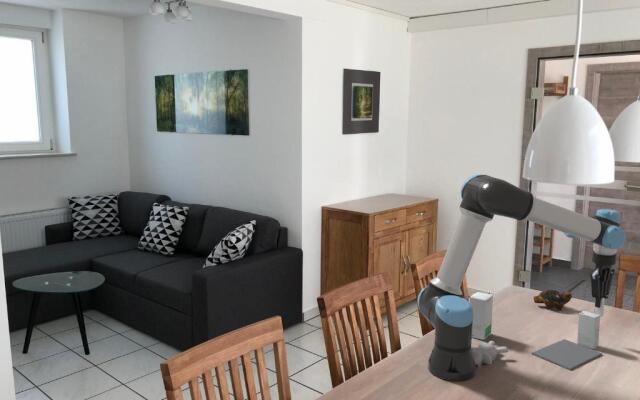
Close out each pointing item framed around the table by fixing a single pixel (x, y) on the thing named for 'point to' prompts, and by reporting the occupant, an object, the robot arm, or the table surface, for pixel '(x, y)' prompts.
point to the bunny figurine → (486, 353)
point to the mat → (567, 354)
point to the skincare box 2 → (588, 329)
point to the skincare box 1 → (481, 315)
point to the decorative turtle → (553, 299)
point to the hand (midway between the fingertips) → (598, 315)
